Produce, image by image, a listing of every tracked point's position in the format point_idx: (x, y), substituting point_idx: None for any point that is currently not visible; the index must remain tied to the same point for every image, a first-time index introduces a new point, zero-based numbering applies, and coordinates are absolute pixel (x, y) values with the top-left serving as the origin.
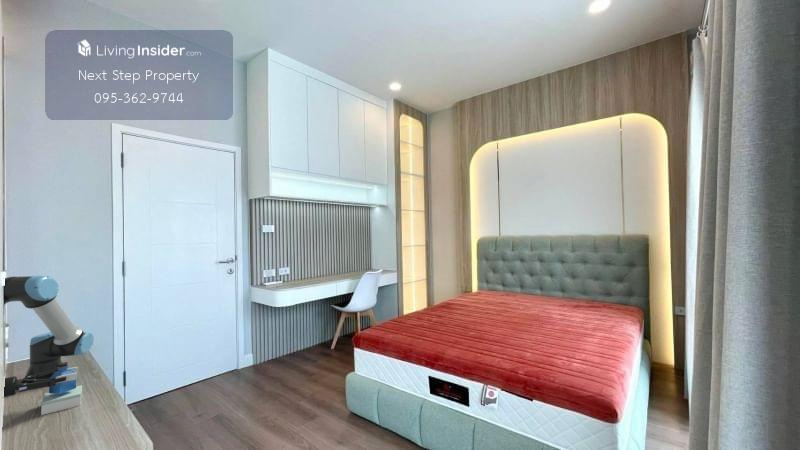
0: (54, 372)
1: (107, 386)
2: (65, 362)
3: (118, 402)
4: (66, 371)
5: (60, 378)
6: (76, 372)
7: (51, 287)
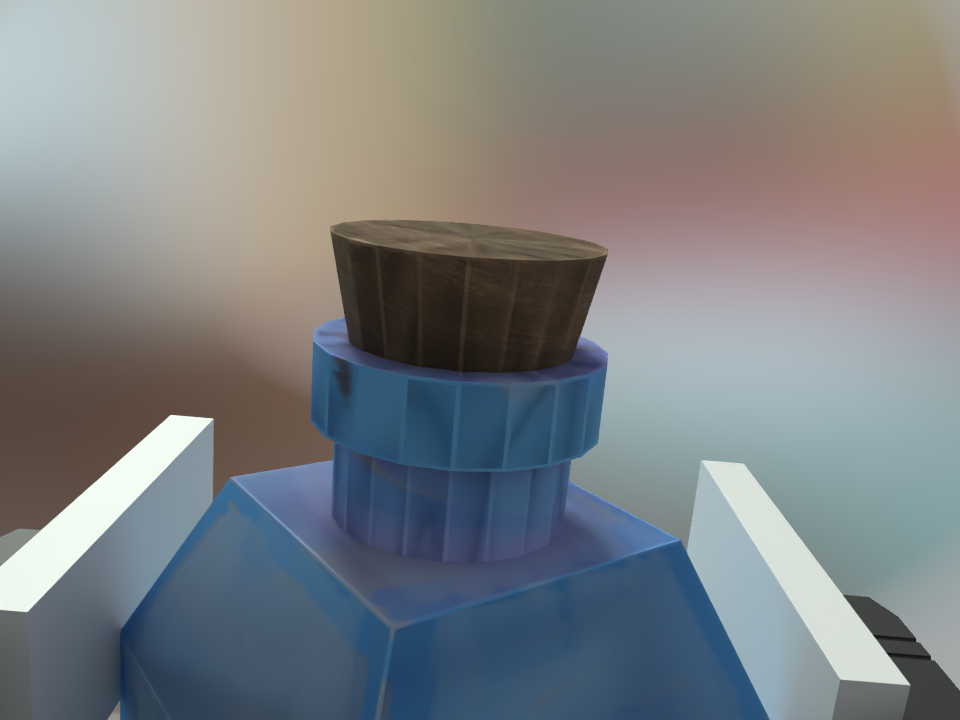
0: (412, 624)
1: None
2: (404, 224)
3: None
4: (570, 489)
5: (927, 666)
6: None
7: None
